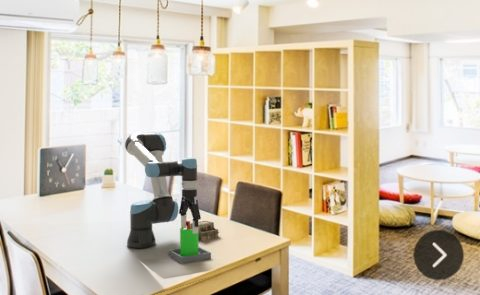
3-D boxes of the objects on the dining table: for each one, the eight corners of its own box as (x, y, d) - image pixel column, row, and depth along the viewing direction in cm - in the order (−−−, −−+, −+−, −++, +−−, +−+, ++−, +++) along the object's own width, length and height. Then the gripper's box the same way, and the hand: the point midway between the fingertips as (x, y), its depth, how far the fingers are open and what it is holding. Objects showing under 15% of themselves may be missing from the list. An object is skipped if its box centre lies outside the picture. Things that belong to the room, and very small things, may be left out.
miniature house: (185, 243, 236) (185, 223, 236) (204, 239, 246) (204, 220, 246) (202, 248, 225) (202, 227, 225) (221, 243, 235) (221, 223, 235)
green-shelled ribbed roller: (198, 253, 210) (198, 219, 210) (197, 258, 202) (197, 222, 202) (181, 253, 210) (181, 219, 210) (179, 258, 202) (179, 222, 202)
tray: (168, 255, 210) (168, 250, 210) (196, 251, 218) (196, 245, 218) (181, 263, 196) (181, 257, 196) (210, 258, 205) (210, 252, 205)
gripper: (172, 186, 215) (172, 227, 215) (193, 192, 194) (193, 236, 194) (185, 186, 219) (185, 225, 219) (207, 190, 198) (207, 234, 198)
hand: (189, 230), depth 207 cm, fingers open, 13 cm apart
